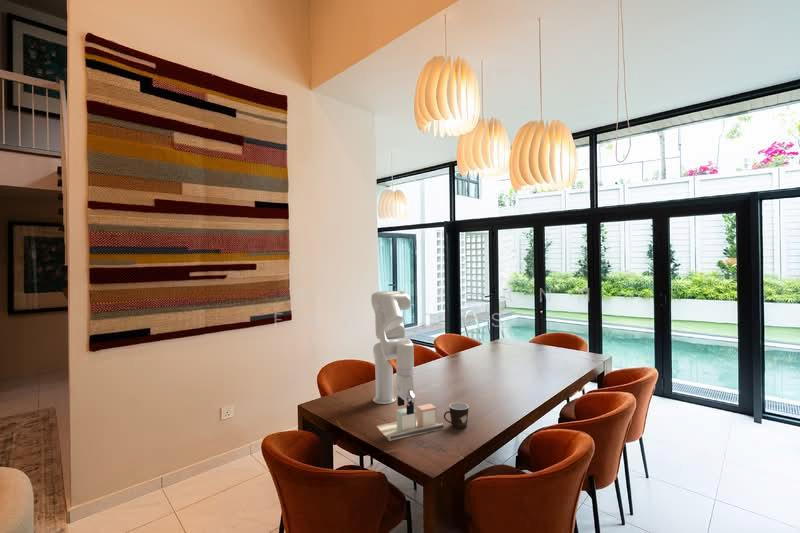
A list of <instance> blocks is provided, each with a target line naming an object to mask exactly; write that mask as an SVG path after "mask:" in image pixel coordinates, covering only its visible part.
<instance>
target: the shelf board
mask: <svg viewBox="0 0 800 533" xmlns="http://www.w3.org/2000/svg"><path fill="white" fill-rule="evenodd" d="M376 428H378V430H379V431H380V432H381V433H382V434H383V436H385V438H386V439H387V440H388V441H390V442H391V441H395V440H398V439H403V438H408V437H413V436H417V435H423V434H427V433H433V432H435V431H441V430H445V424H444V423H443V422H441V423H437V422H436V425H431V426H426V427H421V428H419V427H418V426H417V417H416V429H412V430H407V431H402V432H398V431H397V421H394V422H389V423H383V424H379V425H376Z"/></svg>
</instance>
